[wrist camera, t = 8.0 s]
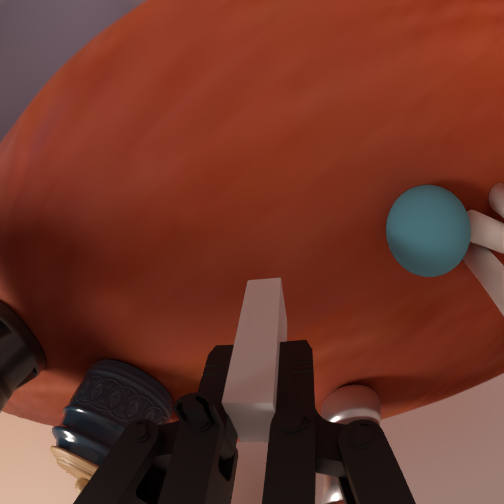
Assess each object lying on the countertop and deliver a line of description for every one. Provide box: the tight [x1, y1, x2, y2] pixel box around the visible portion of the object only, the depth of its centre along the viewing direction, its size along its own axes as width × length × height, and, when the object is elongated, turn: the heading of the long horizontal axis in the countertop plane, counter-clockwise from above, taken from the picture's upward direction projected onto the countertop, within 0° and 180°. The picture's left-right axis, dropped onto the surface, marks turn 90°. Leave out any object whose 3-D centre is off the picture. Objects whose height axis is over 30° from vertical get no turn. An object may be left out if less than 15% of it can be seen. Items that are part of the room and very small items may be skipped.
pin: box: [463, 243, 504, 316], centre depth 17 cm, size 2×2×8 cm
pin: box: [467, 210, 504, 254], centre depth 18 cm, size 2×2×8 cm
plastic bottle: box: [320, 384, 381, 504], centre depth 22 cm, size 6×7×20 cm
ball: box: [386, 185, 471, 277], centre depth 17 cm, size 6×6×6 cm
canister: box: [50, 359, 173, 494], centre depth 28 cm, size 13×13×18 cm
